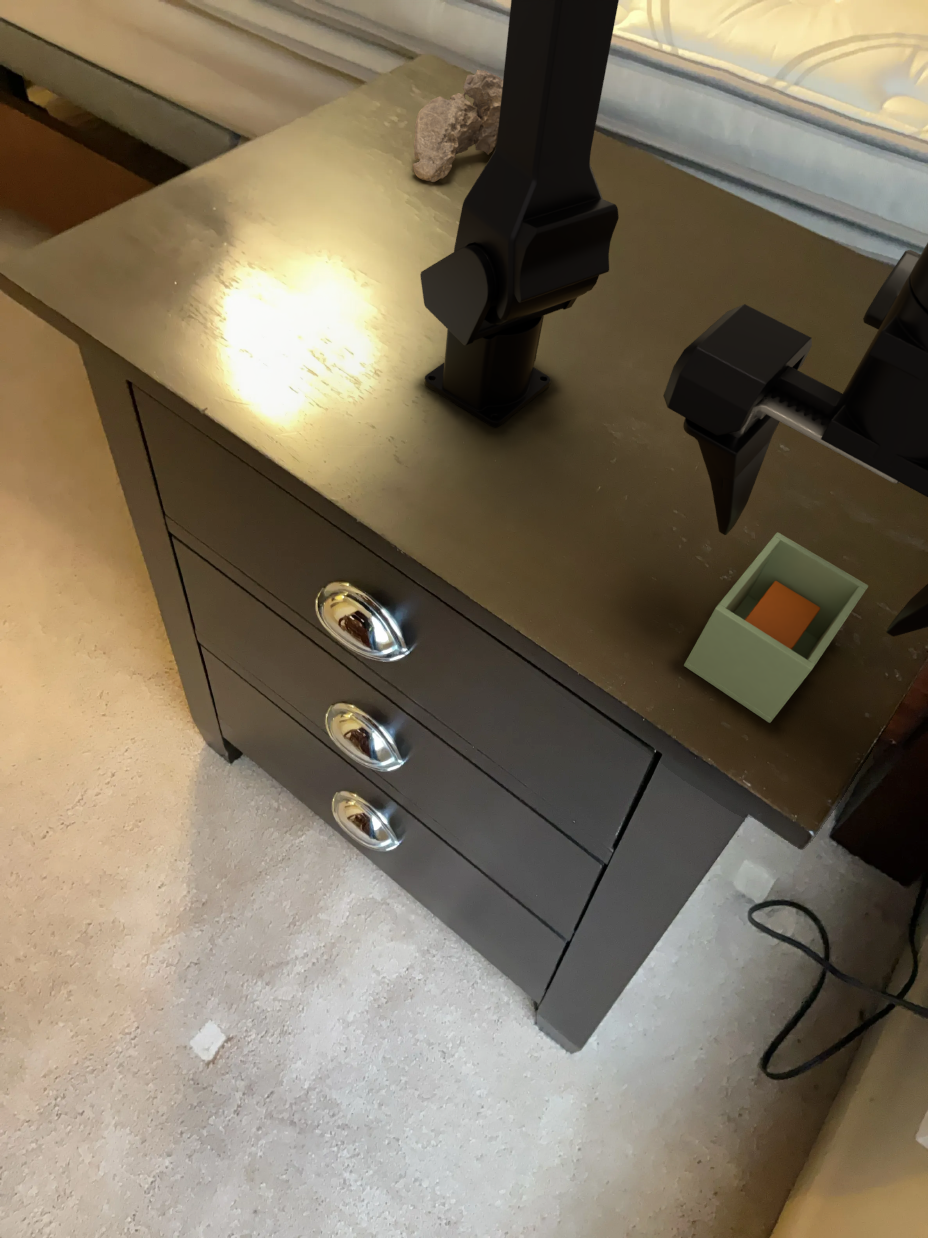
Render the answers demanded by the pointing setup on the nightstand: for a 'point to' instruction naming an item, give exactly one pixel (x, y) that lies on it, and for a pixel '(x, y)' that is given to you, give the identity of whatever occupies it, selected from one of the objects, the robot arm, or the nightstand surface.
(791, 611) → the orange block
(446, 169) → the rock
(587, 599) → the nightstand surface
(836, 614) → the trash bin
